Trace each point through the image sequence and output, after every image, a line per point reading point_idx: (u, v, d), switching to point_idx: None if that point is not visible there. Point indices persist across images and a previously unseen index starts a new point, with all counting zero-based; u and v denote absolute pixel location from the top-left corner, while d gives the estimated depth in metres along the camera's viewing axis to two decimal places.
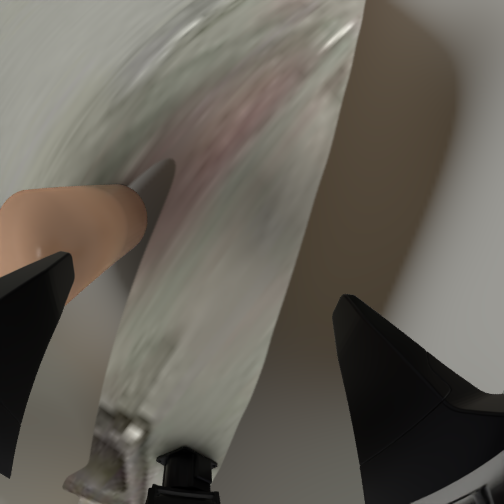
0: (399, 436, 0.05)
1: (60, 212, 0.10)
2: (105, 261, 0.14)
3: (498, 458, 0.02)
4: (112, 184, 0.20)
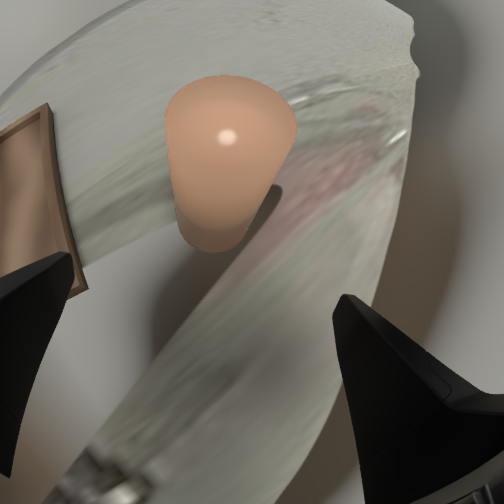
0: (399, 436, 0.05)
1: (285, 102, 0.12)
2: (266, 190, 0.15)
3: (498, 458, 0.02)
4: None
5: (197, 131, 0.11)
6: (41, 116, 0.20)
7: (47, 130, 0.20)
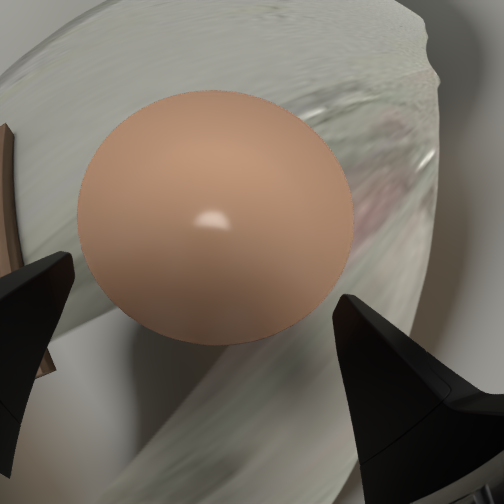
0: (399, 436, 0.05)
1: (327, 151, 0.06)
2: None
3: (498, 458, 0.02)
4: None
5: (141, 240, 0.05)
6: None
7: (1, 161, 0.14)
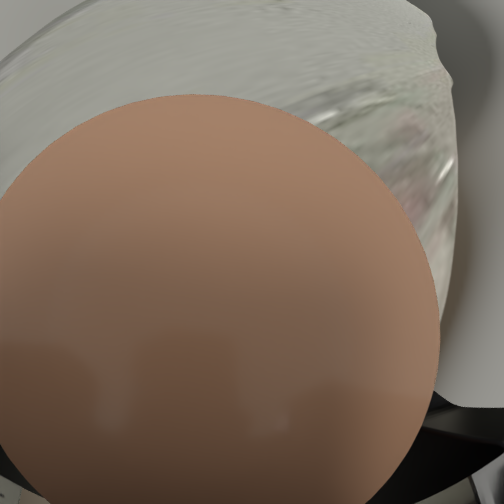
0: None
1: (407, 228, 0.03)
2: None
3: (459, 486, 0.02)
4: None
5: (65, 441, 0.02)
6: None
7: None
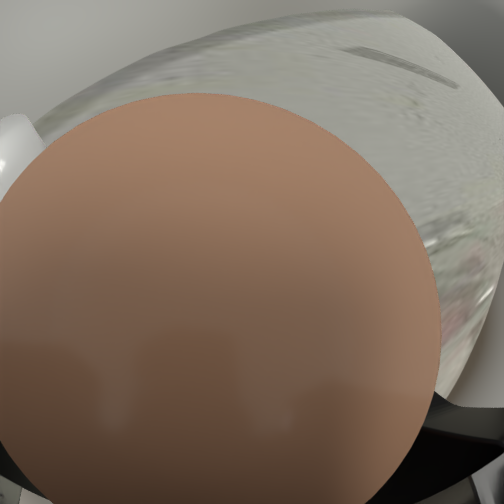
0: None
1: (408, 227, 0.03)
2: None
3: (459, 486, 0.02)
4: None
5: (66, 439, 0.02)
6: None
7: None
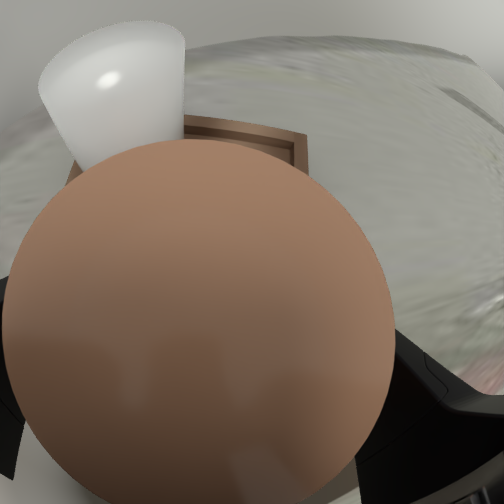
0: (395, 437, 0.05)
1: (366, 250, 0.04)
2: None
3: (495, 460, 0.02)
4: None
5: (88, 420, 0.03)
6: (296, 155, 0.18)
7: None
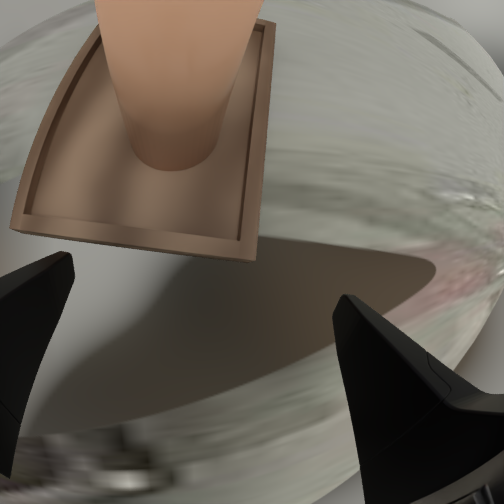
0: (399, 436, 0.05)
1: None
2: (231, 59, 0.08)
3: (498, 458, 0.02)
4: None
5: None
6: (266, 32, 0.18)
7: (272, 52, 0.18)
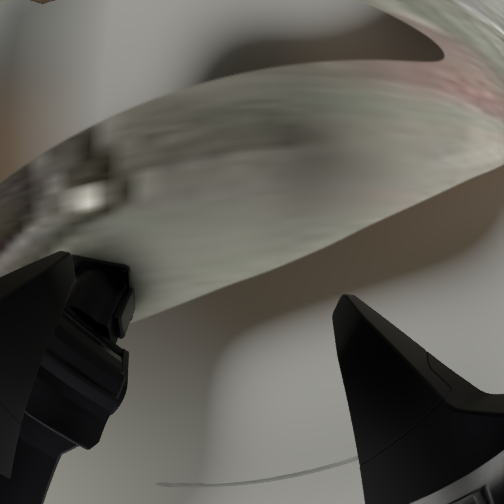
0: (399, 436, 0.05)
1: None
2: None
3: (498, 458, 0.02)
4: None
5: None
6: None
7: None
